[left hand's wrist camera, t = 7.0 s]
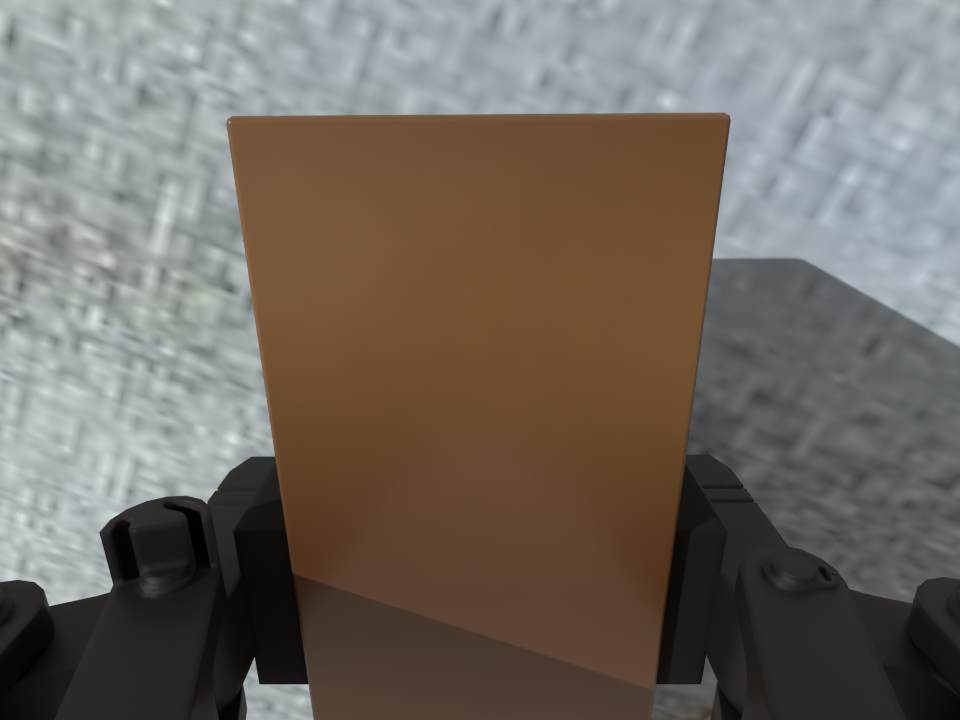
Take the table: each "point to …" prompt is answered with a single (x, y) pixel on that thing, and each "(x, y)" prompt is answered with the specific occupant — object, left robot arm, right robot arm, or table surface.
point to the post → (480, 397)
